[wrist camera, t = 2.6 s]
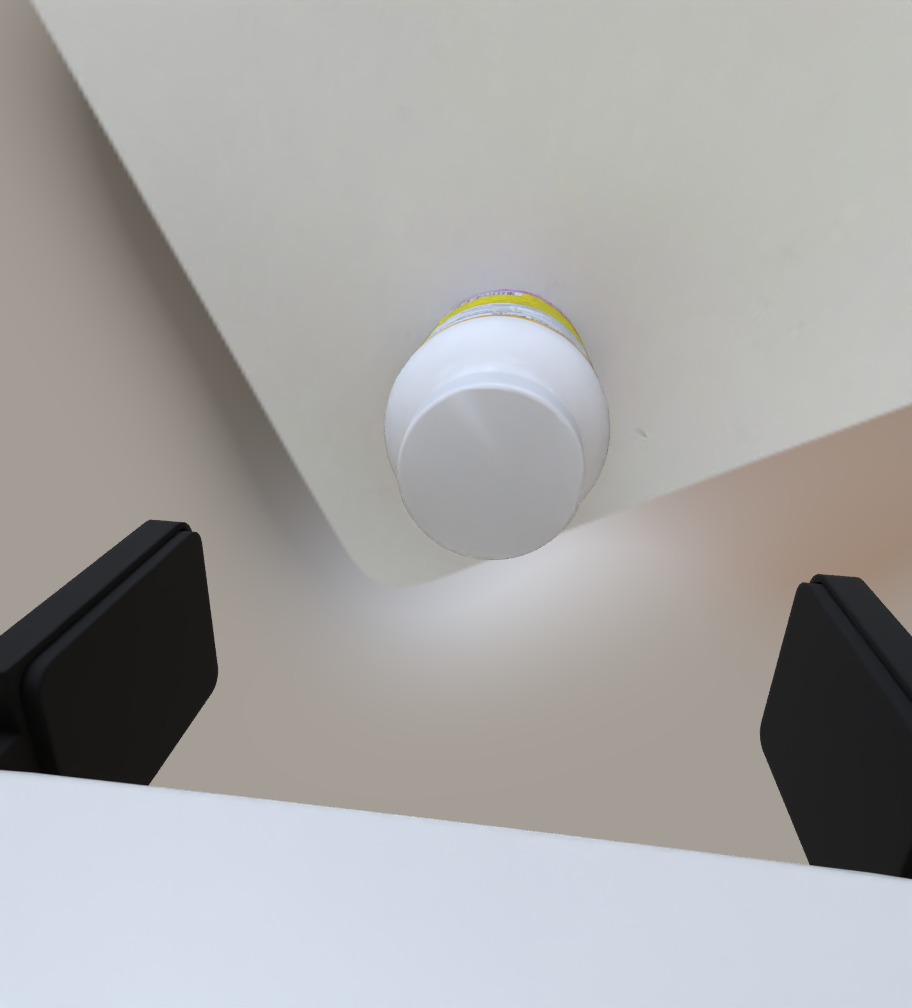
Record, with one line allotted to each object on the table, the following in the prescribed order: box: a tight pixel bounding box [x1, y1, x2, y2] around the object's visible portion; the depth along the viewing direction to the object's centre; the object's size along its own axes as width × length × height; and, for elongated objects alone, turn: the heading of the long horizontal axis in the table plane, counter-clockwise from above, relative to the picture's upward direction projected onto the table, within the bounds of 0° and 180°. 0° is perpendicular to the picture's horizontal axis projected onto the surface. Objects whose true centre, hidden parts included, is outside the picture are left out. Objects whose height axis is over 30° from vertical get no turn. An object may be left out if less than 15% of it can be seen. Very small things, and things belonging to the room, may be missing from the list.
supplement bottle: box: [384, 289, 610, 560], centre depth 23 cm, size 7×7×13 cm
